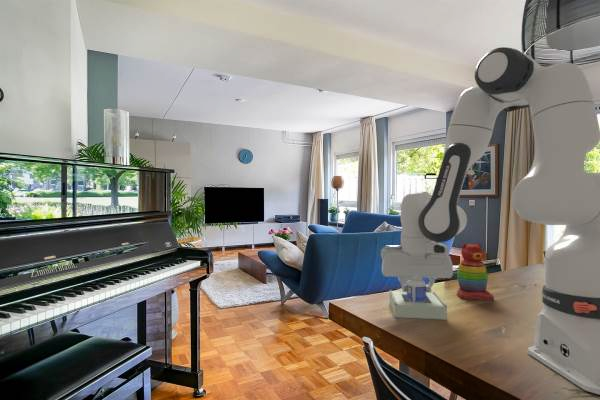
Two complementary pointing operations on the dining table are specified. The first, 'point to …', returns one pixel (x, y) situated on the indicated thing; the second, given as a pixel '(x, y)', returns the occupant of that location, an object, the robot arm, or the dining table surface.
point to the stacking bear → (472, 274)
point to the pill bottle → (416, 290)
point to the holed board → (418, 306)
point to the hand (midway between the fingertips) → (416, 291)
